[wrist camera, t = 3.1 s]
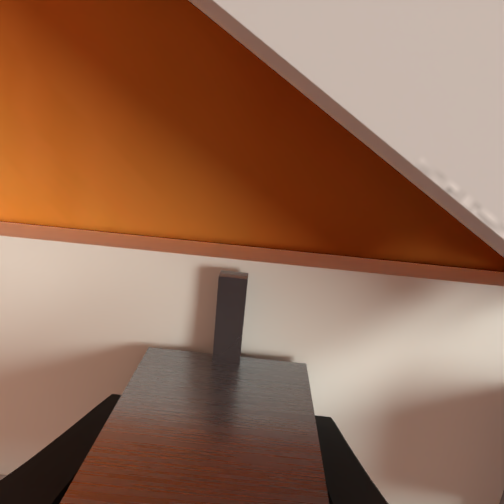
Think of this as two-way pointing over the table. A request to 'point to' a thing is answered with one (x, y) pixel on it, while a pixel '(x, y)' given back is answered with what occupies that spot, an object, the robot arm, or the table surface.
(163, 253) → the board
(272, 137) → the table surface
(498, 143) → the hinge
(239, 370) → the grey slider block
